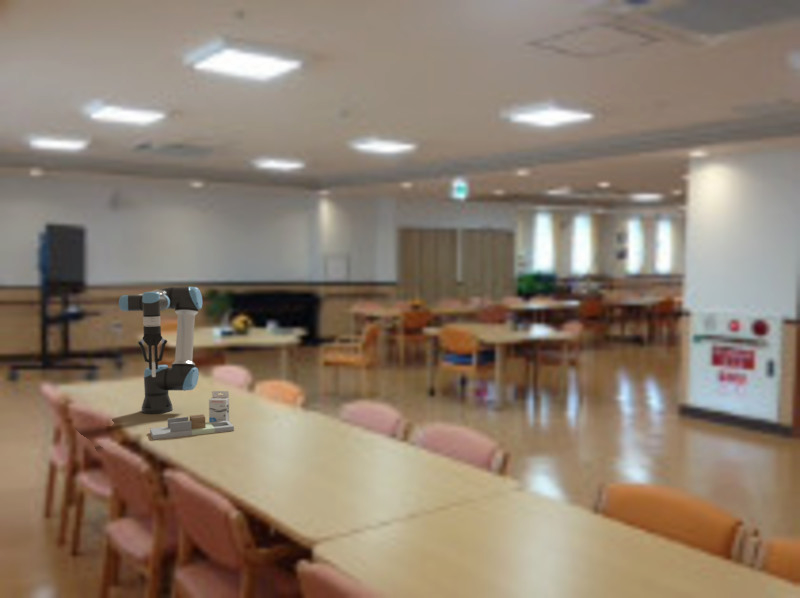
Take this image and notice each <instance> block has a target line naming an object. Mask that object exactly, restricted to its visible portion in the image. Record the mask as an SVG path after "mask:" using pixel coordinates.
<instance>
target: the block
mask: <svg viewBox="0 0 800 598" xmlns="http://www.w3.org/2000/svg"><path fill="white" fill-rule="evenodd" d="M189 421H191V427H192V429H199V428H206V426H205V423H206V416H205V415H204V414H203V413H202V414H193V415H191V414H190V415H189Z"/></svg>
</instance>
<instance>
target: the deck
mask: <svg viewBox="0 0 800 598" xmlns="http://www.w3.org/2000/svg"><path fill="white" fill-rule="evenodd" d="M205 426H206V428H199V429H192V427H191V421H190V420H189V416H181V417H172V418H167V426H162V427H154V428H149V433H150V436H151V438H152V440H161V439H163V440H164V439H170V438H180V437H188V436H197V435H205V434H206V435H208V434H215V433H223V432H224V433H225V432H234V431H235V426H234V424H232V423H231V421H230V420H229V421H228V420H226V421H217V422H209V421H208V422H205Z"/></svg>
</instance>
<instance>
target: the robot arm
mask: <svg viewBox="0 0 800 598" xmlns="http://www.w3.org/2000/svg"><path fill="white" fill-rule="evenodd" d="M118 306H119V309H120V310H121V311H122V312H142V324H143V336H142V338H141V340H138V341H137V344H138V345H139V346H140V351H141V353H142V357H143V359H144V362H145V363H148V367H146V368H144V370H143V382H144V383H143V384H144V385H143V387H144V397H143V398H144V399H143V401H142V404H141V413H143V414H153V415H154V414H155V415H156V414H163V413H168V412H169V413H170V412H171V411H173V403H172V401H171V398H170V394H169V391H184V392H185V391H193V390H194V389H195V388H196V387H197V385H198V381H199V375H200V374H199V368H198V367H196V363H195V362H194V361H193V358H194V356H193V355H194V336H195V319H196V315H198V314H199V310H201V309H202V307H203V296H202V293H201V291H200V289H199V288H198V287H197V286H169V287H163V288H158V289H153V290H152V291H146V292H145V291H144V292H143V293H138V294H125V295H124V294H123V295H120V297H119V299H118ZM165 310H174V312H175V314H176V315H177V321H176V322H177V323H176V324H177V325H176V340H175V341H176V342H175V343H176V344H175V355H174V357H175V359H174V361H173V362H172V363H171V367H169V366H168V364H159V362H162V360H163V356H164V351H165V347H166V345H167V343H168V340H167V339H166V338H165V339H164V338H163V336H162V327H161V311H165ZM160 343H161V345H160V350H159V352H158V345H159V344H160ZM144 344H146V345H147V350H148V351H147V352H148V357H147V353H146V350H145V346H144ZM152 346H153V348H152ZM153 350H154V351H153ZM153 352H154V353H153ZM152 353H153V354H152ZM158 353H159V354H158ZM153 355H154V361H153Z"/></svg>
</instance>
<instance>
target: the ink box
mask: <svg viewBox="0 0 800 598" xmlns="http://www.w3.org/2000/svg"><path fill="white" fill-rule="evenodd" d="M211 393H212V396H211V397H210V398H209V399H208V414H209V415H208V418H209V419H208V420H209V421H208V422H217V421H226V420H228V421H229V422H230V397H229V396H230V395H229V394H230V393H229V391H228V390H227V391H226V390H221V391H220V390H213V391H211Z"/></svg>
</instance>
